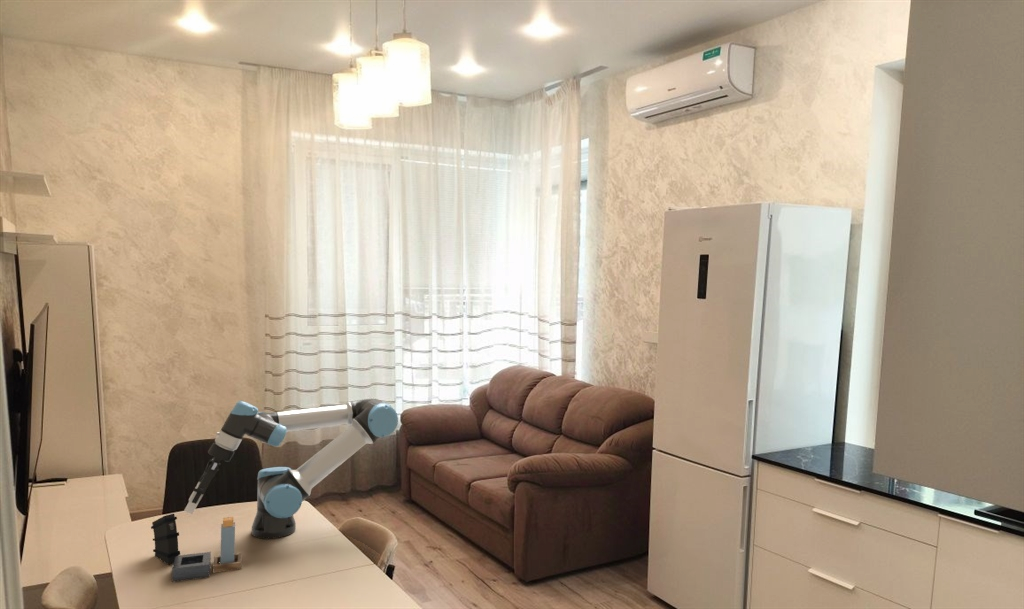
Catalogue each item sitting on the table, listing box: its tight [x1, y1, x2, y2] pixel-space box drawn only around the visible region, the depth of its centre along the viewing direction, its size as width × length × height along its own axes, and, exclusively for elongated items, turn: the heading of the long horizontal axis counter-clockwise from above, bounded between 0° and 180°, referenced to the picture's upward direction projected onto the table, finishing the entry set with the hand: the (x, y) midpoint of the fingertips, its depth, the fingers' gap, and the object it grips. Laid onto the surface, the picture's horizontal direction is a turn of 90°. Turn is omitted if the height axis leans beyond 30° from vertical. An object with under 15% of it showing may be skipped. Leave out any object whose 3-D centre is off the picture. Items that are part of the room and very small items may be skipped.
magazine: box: [150, 513, 181, 566], centre depth 207 cm, size 4×13×15 cm, turn 51°
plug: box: [219, 516, 236, 564], centre depth 203 cm, size 4×4×15 cm
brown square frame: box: [212, 552, 242, 573], centre depth 203 cm, size 8×8×2 cm
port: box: [171, 551, 212, 583], centre depth 198 cm, size 10×10×4 cm
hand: (190, 506), depth 207 cm, fingers open, 13 cm apart
